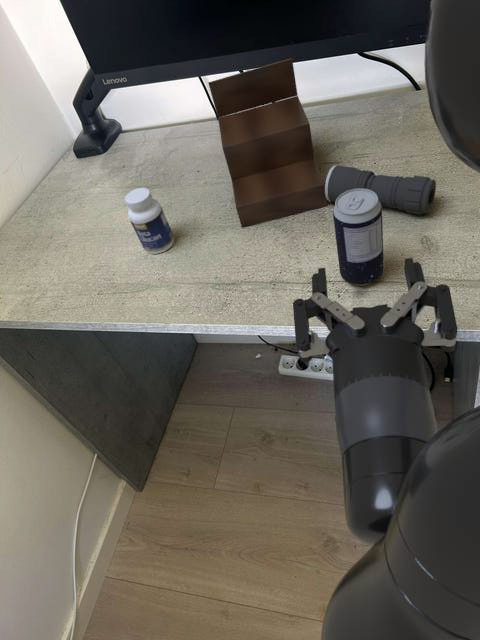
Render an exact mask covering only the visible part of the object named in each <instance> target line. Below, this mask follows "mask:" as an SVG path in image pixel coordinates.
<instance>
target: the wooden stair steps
mask: <svg viewBox="0 0 480 640" xmlns="http://www.w3.org/2000/svg"><path fill="white" fill-rule="evenodd" d="M293 62H294V61H293V58H292V57H291V58H287V59H284V60H280V61H277V62H273V63H270V64H267V65H262V66H260V67H256V68H253V69H249V70H246V71H242V72H239V73H236V74H232V75H229V76H225V77H222V78H219V79H215V80H212V81H208V83H207V84H208V87H209V91H210V95H211V98H212V101H213V105H214V108H215V113H216V116H217V118H218V119H217V120H218V126H219V133H220V134H219V135H220V141H221V147H222V152H223V155H224V158H225V162H226V165H227V168H228V173H229V176H230V179H231V185H232V191H233V197H234V202H235V203H234V204H235V209H236V213H237V217H238V220H239V222H240V226H241V228H246V227H250V226H254V225H258V224H262V223H267V222H270V221H273V220H277V219H282V218H285V217H289V216H292V215H293V216H294V215H296V214H302V213H304V212H309V211H312V210H317V209H321V208H324V207H328V200H327V199H326V195H325V184H326V183H325V182H324V179H323V177H322V174H321V171H320V169H319V166H318V164H317V161H316V159H315V151H314V145H313V138H312V132H311V131H312V130H311V124H310V121H309V119H308V117H307V115H306V114H307V113H306V111H305V109H304V107H303V105H302V102H301V100H300V98H299V95H298V88H297V81H296V74H295V68H294V63H293Z"/></svg>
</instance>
